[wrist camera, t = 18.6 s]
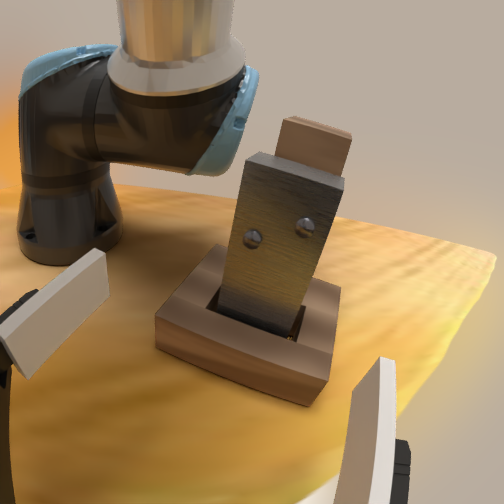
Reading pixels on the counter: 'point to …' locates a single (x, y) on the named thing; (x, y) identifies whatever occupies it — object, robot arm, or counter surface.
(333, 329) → the wooden post with frame
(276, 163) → the grey metal block
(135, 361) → the counter surface
